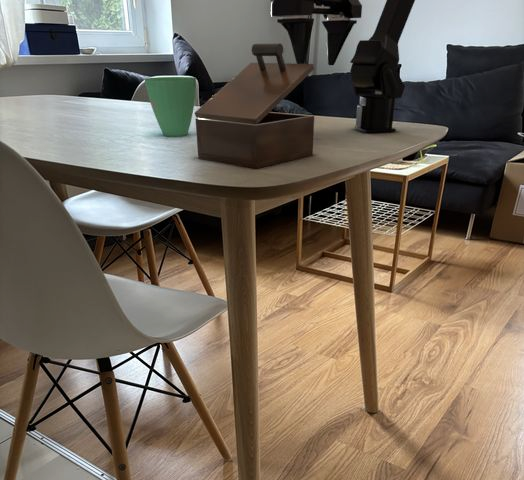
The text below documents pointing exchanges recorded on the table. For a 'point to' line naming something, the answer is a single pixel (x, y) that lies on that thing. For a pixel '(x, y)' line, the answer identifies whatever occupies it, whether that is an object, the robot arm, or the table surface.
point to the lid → (255, 88)
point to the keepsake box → (256, 140)
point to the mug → (172, 103)
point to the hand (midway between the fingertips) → (316, 66)
